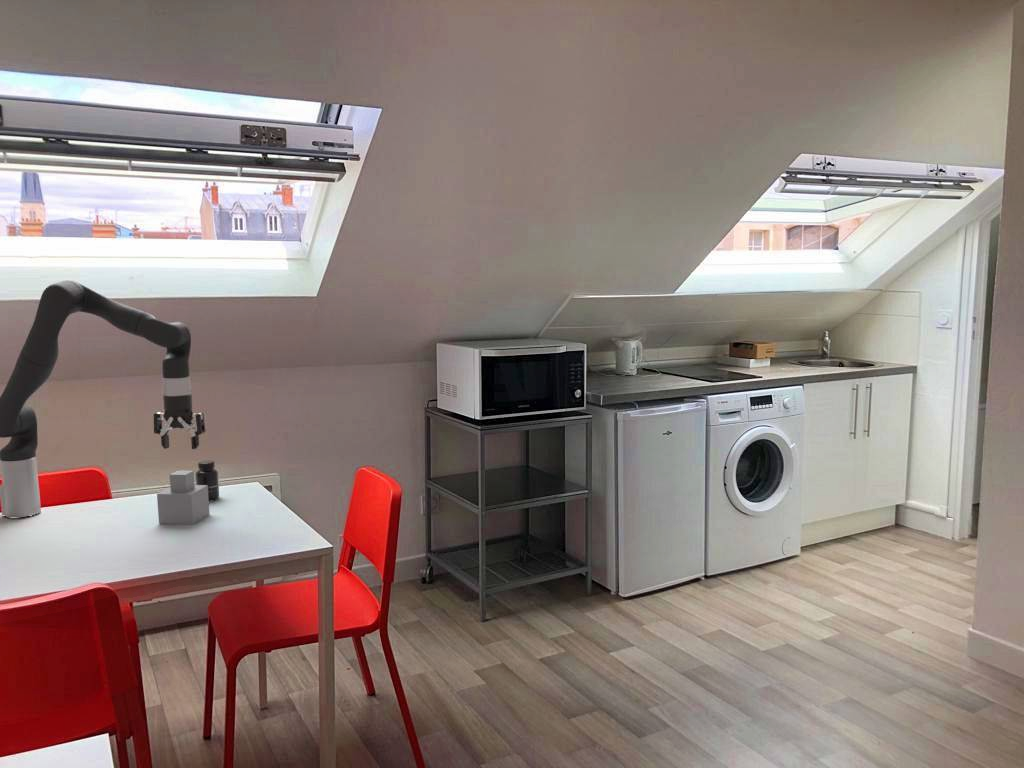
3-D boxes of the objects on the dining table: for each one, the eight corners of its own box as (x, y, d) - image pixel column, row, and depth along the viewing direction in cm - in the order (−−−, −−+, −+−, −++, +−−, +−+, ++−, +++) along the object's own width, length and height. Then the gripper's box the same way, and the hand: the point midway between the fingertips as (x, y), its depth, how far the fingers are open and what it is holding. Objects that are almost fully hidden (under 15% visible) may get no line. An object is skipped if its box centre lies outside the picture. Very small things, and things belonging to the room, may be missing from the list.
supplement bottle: (214, 502, 262) (212, 464, 261) (193, 502, 262) (190, 464, 261) (222, 496, 269) (220, 459, 267) (201, 496, 269) (199, 459, 268)
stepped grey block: (159, 523, 240) (155, 476, 238) (176, 513, 250) (173, 468, 248) (193, 524, 239) (190, 477, 237) (209, 514, 249) (206, 468, 247)
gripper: (146, 394, 237) (150, 450, 239) (195, 395, 235) (198, 451, 237) (160, 390, 244) (163, 445, 246) (207, 391, 243) (210, 446, 245)
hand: (180, 448), depth 242 cm, fingers open, 8 cm apart
